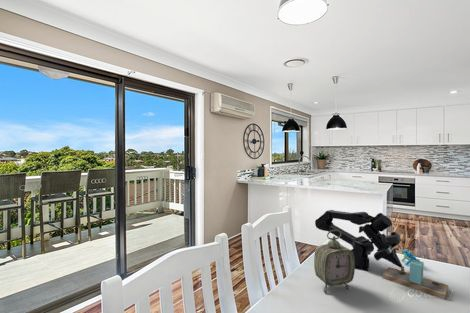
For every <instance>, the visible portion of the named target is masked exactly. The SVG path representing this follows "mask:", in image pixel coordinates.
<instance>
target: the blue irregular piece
mask: <svg viewBox="0 0 470 313" xmlns="http://www.w3.org/2000/svg"><path fill="white" fill-rule="evenodd" d="M402 252H403V258H401V260H400V262H404V261H405V260H407V261H406V262H405V263H404V265H405V266H408V265H410V262H411V261H412V259H413V260H417V261H421V260H420V259H417V257H416V256H415V255H413V254H412V252H410V251H408V250H406V249H403V250H402Z"/></svg>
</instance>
